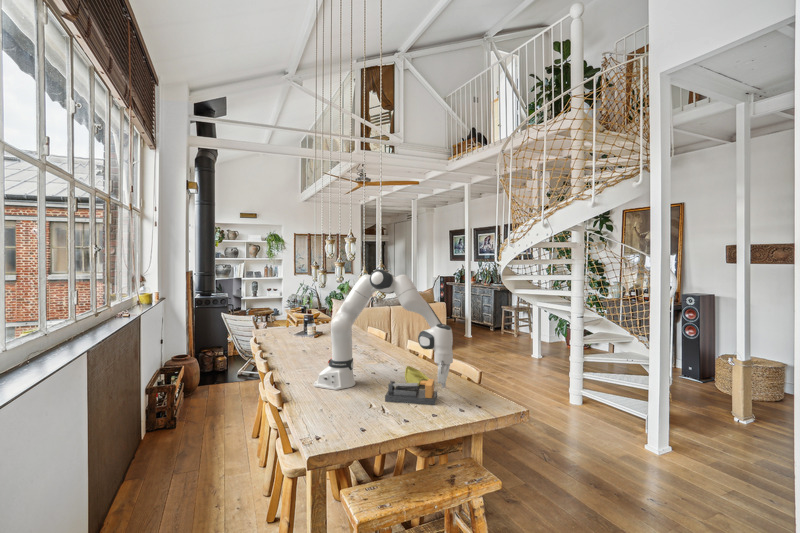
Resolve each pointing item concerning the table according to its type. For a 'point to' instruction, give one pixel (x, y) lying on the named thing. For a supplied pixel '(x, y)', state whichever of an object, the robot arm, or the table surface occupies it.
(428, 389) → the clip
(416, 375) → the plastic component
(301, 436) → the table surface
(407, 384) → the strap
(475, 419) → the table surface
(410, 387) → the heatsink
